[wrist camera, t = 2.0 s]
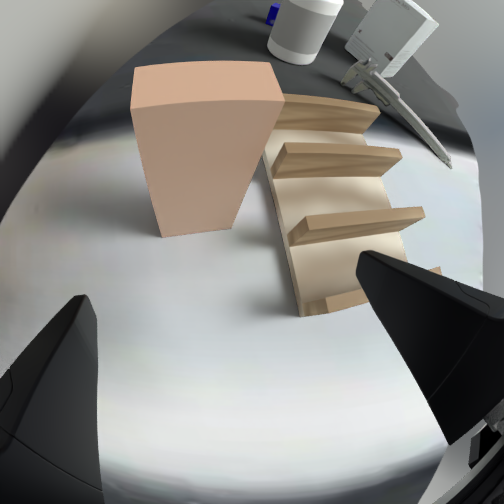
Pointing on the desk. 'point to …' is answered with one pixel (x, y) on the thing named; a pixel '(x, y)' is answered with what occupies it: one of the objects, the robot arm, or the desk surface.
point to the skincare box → (390, 34)
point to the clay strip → (202, 137)
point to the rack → (331, 198)
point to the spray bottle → (302, 29)
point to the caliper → (393, 102)
